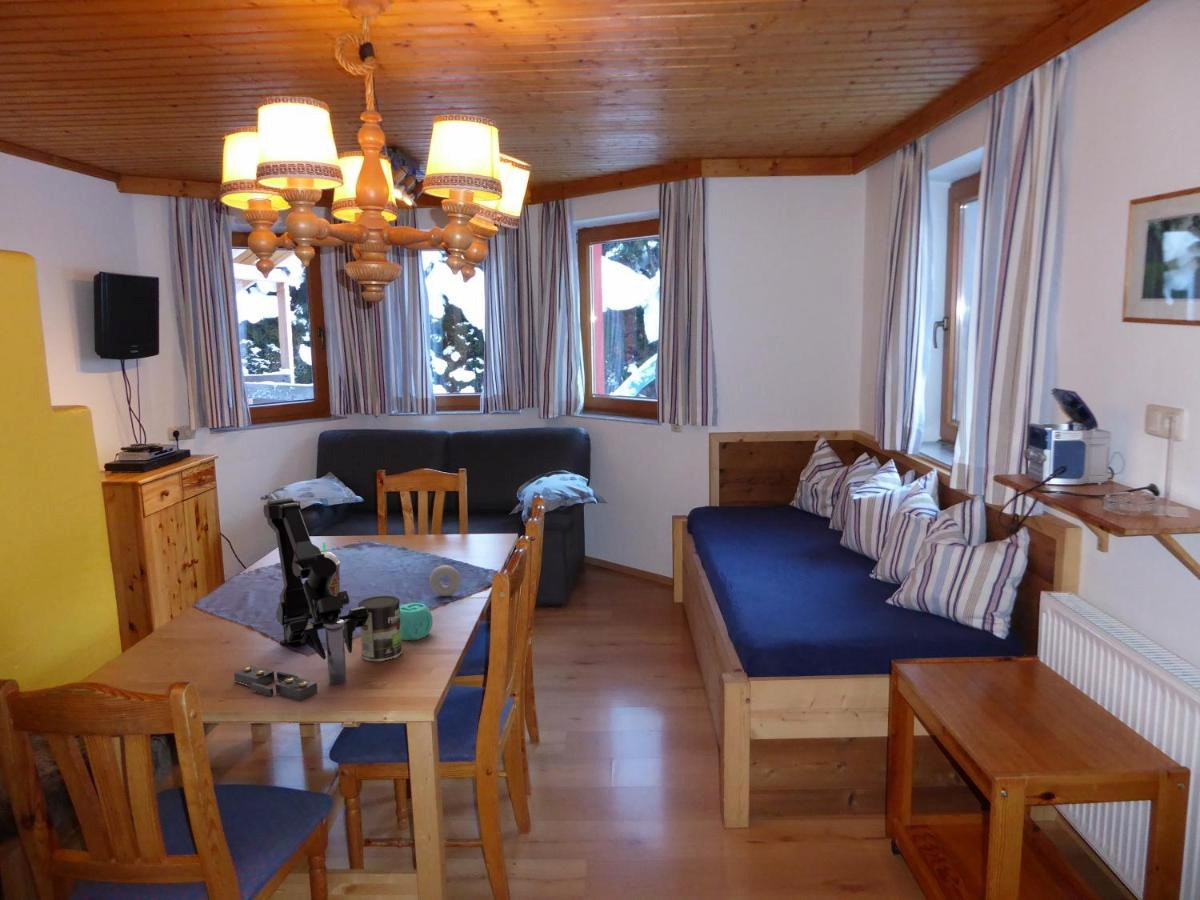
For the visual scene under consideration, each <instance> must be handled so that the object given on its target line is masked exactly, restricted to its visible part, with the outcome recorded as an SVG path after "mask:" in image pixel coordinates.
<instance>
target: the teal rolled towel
mask: <svg viewBox="0 0 1200 900" xmlns="http://www.w3.org/2000/svg"><path fill="white" fill-rule="evenodd" d="M399 606H400V626H401V640H402V639H403V641H408V640H410V641H416V640H415V639H418V640H420V639H419V638H422V639H424V638H425V636H426V637H427V636H428V635H429V634H430V632H431V631H432V627H433V623H434V621H433V616H432V612H431V609H429V608H428V606H427V605H426V604H424V603H421V602H420V603H419V602H408V603H405V604H401V605H399ZM423 637H424V638H423Z"/></svg>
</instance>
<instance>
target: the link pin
mask: <svg viewBox="0 0 1200 900" xmlns="http://www.w3.org/2000/svg"><path fill="white" fill-rule="evenodd" d="M344 625H345V621H344V620H342V619H333V620H328V621H326V622H324V623H323V627H324V630H325V642H326V643H325V644H326V654H327V655H326V658H327V669H328V670H327V672H328V673H327V675H328V685H330V686H335V687H336V686H342V685H344V684H346V683H347V669H346V667H347V666H346V651H345V639H344V633H343V629H344V627H343V626H344Z"/></svg>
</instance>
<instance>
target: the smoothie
mask: <svg viewBox="0 0 1200 900" xmlns="http://www.w3.org/2000/svg"><path fill="white" fill-rule="evenodd" d="M322 549H323V551H321V553H322V554H324V556H325V557H326V558H329V559H331V560H333V561H334V563H336V567H337V568H336V572H335V575H334V578H333V580H332V583H331V585H330V586H329V588H330V591H331V594H332V595H333V596H337V594H338V593H339V592H341V590H340V589H341V588H340V586H341V584H340V583H341V582H340V581H341V577H340V576H341V574H340V572H341V571H340V569H341V568H340V567H341V565H340V563H341V562H340V560H339V558H338V556H337V555H336V554H334V553H333V551H328V550H326V549H327V548H326V542H322Z"/></svg>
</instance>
